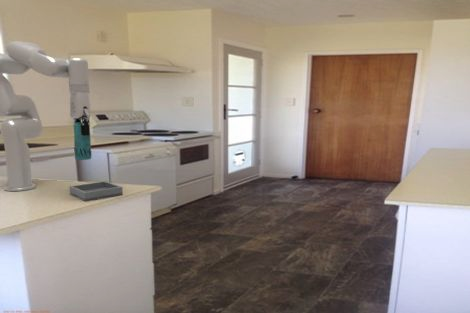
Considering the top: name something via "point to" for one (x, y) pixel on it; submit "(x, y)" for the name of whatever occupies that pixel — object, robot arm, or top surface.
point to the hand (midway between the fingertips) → (82, 134)
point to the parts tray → (95, 191)
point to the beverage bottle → (81, 143)
